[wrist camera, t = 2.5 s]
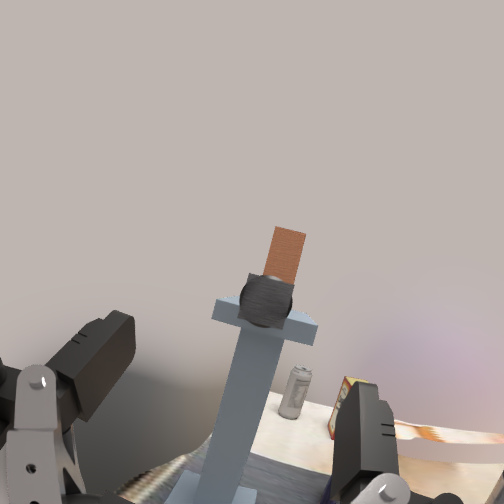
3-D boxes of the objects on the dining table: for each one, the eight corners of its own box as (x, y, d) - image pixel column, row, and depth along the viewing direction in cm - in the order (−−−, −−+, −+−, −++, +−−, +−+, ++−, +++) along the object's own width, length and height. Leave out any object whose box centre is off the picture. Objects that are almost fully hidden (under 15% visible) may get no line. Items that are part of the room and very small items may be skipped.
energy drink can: (293, 412, 87) (308, 365, 88) (301, 420, 81) (317, 372, 82) (274, 410, 85) (289, 363, 86) (281, 419, 79) (297, 369, 81)
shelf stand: (185, 472, 44) (232, 294, 47) (254, 492, 43) (312, 315, 46) (153, 526, 28) (206, 296, 31) (244, 553, 27) (328, 328, 30)
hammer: (256, 303, 44) (276, 230, 44) (285, 311, 43) (304, 237, 44) (228, 318, 21) (268, 170, 22) (289, 334, 20) (326, 184, 21)
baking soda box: (327, 425, 80) (345, 374, 81) (348, 429, 79) (366, 379, 81) (331, 439, 71) (351, 384, 72) (354, 443, 70) (375, 388, 71)
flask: (322, 491, 46) (343, 445, 47) (337, 495, 45) (359, 450, 45) (311, 517, 37) (335, 468, 38) (328, 522, 36) (353, 473, 37)
